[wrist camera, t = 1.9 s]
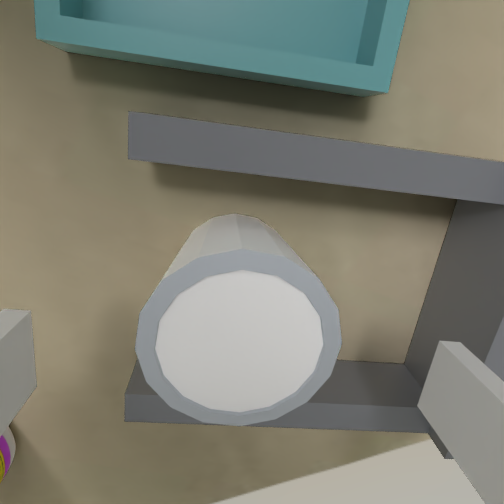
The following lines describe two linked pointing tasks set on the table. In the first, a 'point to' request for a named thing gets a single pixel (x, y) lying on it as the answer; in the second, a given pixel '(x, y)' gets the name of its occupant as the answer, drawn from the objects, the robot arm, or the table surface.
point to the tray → (239, 37)
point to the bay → (440, 289)
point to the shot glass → (237, 326)
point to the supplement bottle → (6, 452)
